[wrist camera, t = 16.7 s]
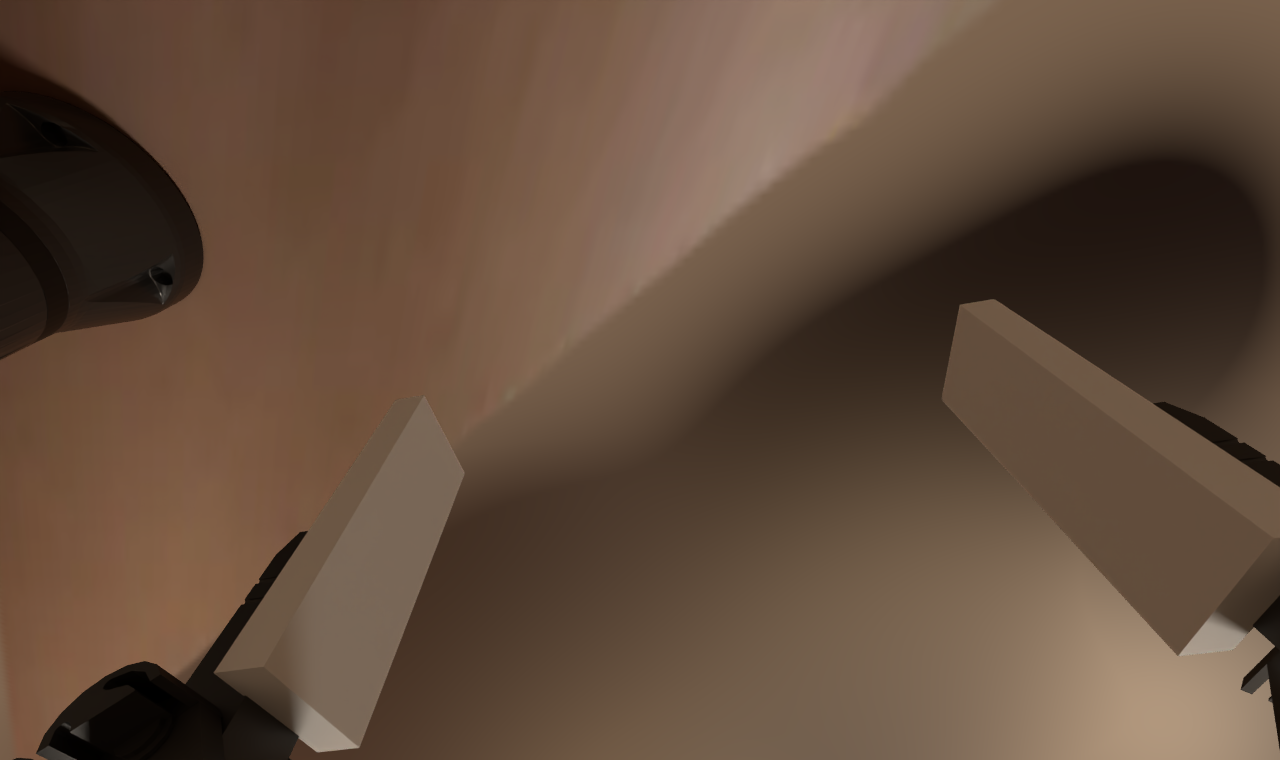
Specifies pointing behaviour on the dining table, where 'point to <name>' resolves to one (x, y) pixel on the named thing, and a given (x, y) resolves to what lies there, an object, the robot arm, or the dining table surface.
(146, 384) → the dining table surface
